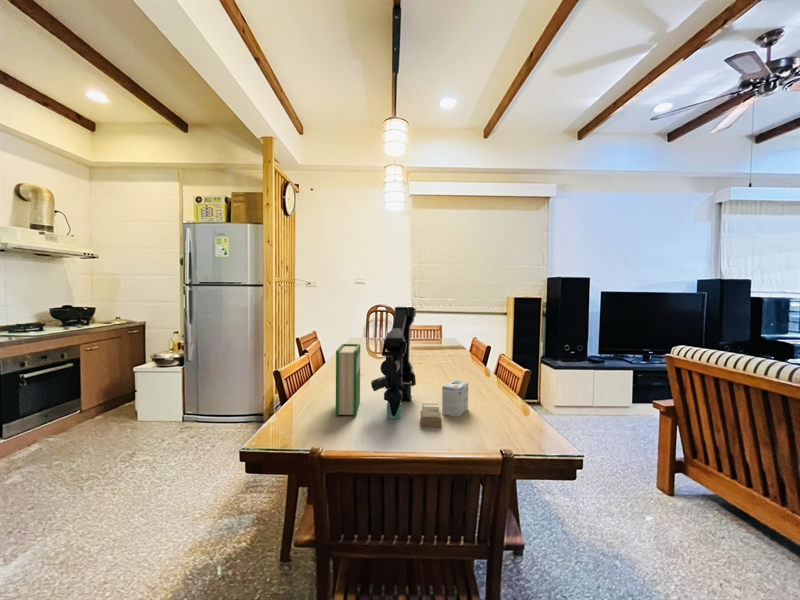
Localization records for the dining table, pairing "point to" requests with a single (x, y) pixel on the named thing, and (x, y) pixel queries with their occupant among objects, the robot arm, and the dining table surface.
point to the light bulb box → (455, 398)
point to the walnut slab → (431, 421)
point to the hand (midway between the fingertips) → (394, 412)
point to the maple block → (430, 409)
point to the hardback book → (347, 379)
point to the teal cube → (389, 414)
